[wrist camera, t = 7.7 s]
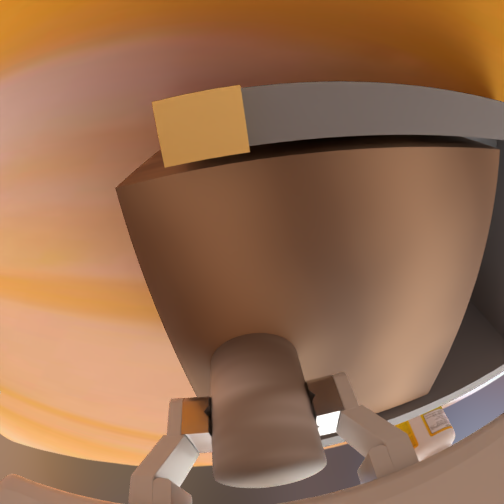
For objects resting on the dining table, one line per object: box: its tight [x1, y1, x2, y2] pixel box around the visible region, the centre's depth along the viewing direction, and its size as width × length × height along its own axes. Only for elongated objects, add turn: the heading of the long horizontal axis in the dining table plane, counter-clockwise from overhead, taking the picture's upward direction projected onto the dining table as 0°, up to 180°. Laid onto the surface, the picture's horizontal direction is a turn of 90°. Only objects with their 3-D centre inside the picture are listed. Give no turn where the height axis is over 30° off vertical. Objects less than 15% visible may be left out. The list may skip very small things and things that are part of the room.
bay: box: [152, 81, 504, 447], centre depth 15 cm, size 24×20×11 cm
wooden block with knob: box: [116, 135, 500, 488], centre depth 13 cm, size 14×16×13 cm
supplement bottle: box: [395, 406, 455, 462], centre depth 27 cm, size 7×7×13 cm
